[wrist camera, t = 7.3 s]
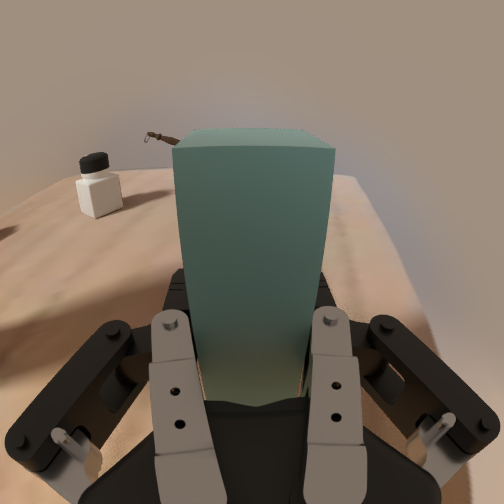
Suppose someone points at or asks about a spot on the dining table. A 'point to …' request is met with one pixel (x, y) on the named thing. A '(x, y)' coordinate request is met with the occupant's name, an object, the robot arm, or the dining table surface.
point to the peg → (252, 254)
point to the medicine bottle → (98, 186)
